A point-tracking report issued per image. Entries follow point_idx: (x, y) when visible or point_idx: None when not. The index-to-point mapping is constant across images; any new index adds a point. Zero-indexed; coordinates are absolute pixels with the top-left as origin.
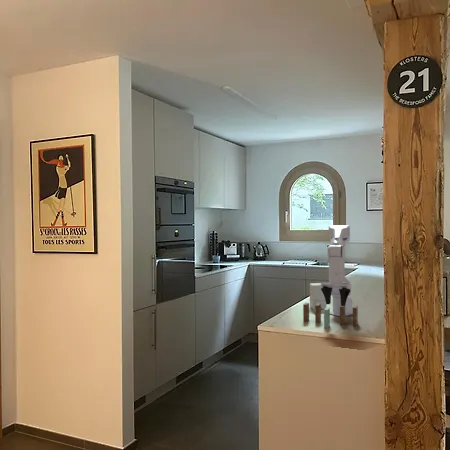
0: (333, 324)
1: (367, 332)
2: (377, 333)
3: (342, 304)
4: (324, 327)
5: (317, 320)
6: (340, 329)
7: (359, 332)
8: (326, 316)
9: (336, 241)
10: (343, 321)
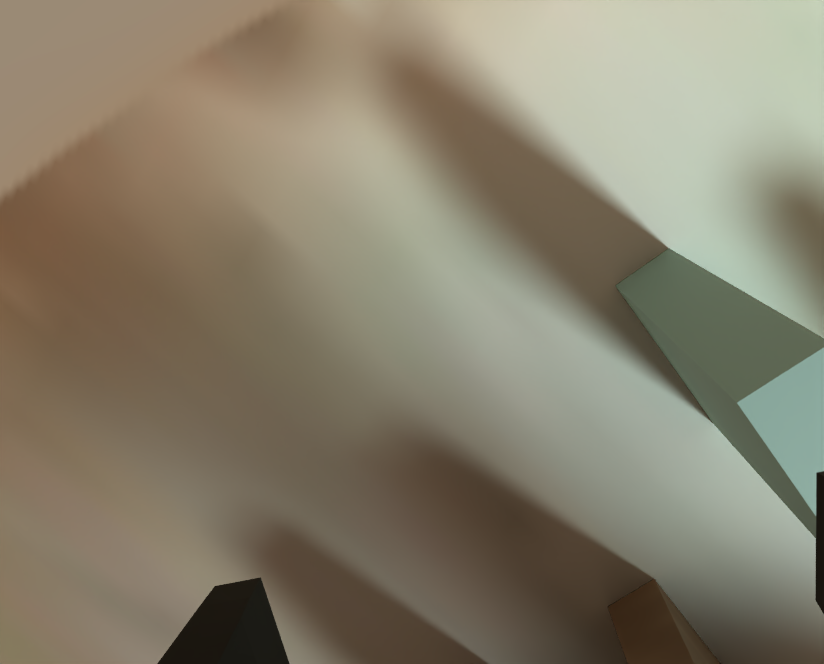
0: (732, 519)
1: (109, 574)
2: (10, 635)
3: (193, 620)
4: (665, 253)
5: None
6: (438, 394)
7: (159, 491)
8: (699, 327)
9: None
10: (621, 642)
